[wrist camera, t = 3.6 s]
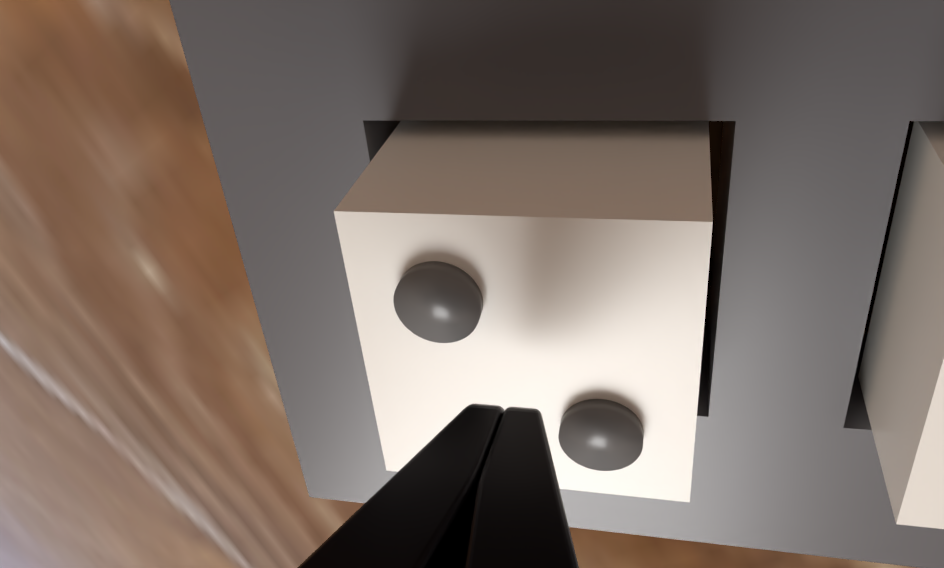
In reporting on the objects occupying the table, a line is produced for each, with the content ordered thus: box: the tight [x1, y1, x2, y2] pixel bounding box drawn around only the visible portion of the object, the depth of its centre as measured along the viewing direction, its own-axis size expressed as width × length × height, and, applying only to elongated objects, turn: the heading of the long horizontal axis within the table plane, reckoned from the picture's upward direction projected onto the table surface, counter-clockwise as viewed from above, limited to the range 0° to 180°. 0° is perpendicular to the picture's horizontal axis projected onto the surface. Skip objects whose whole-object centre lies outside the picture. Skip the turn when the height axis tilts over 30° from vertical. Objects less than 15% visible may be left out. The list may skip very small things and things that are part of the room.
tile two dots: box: [334, 121, 713, 502], centre depth 12 cm, size 4×4×3 cm
